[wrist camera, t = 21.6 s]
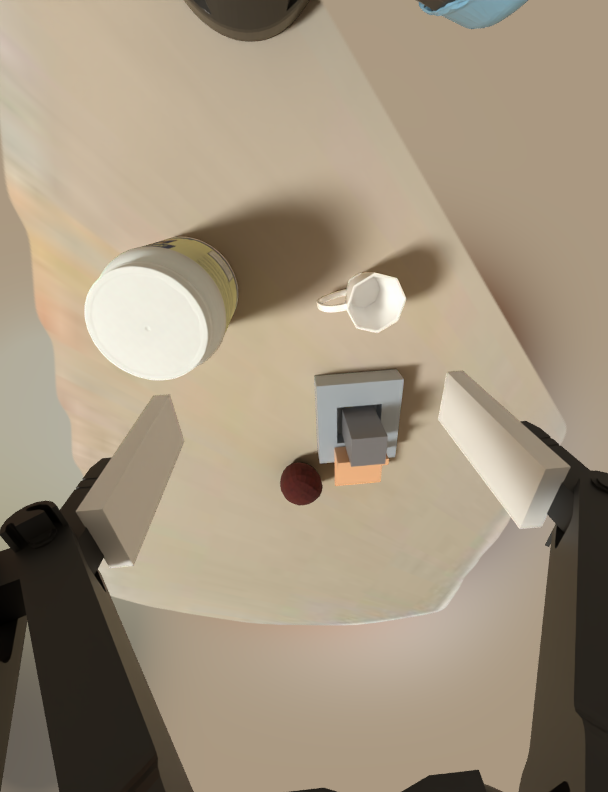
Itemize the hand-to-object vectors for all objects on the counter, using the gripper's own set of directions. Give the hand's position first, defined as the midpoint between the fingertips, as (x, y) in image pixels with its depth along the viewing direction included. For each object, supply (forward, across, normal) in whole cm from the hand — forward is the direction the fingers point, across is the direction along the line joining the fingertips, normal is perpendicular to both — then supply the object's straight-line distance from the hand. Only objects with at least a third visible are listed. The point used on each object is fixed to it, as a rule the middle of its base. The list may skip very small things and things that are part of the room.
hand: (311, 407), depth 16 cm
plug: (+31, +9, -22) cm, 39 cm away
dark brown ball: (+32, -1, -34) cm, 47 cm away
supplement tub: (+32, -13, 0) cm, 34 cm away
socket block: (+32, +9, -22) cm, 40 cm away
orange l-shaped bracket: (+28, +9, -30) cm, 42 cm away
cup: (+32, +8, -2) cm, 33 cm away
